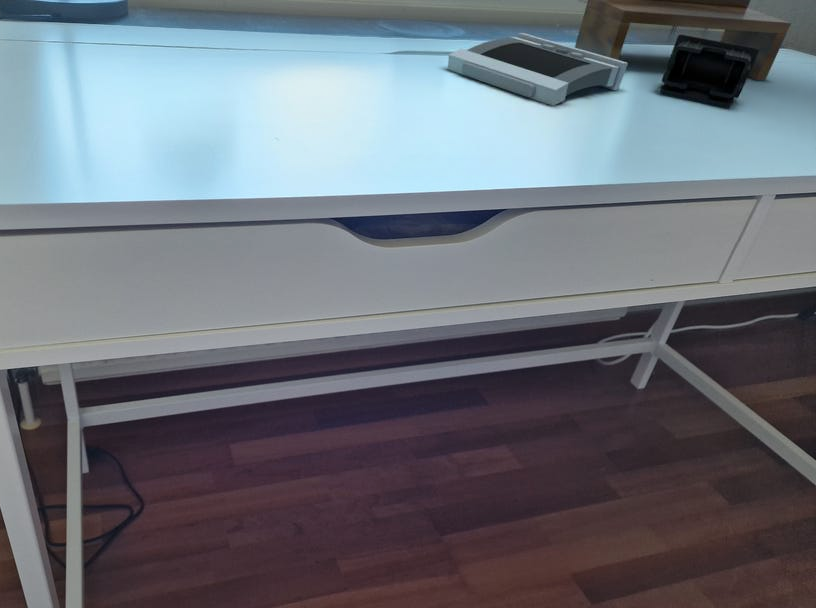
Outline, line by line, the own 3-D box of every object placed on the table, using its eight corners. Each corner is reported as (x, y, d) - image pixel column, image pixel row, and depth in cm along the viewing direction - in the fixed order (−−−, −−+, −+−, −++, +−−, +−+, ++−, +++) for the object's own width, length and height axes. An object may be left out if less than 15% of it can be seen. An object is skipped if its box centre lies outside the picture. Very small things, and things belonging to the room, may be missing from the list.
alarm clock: (628, 62, 88) (561, 65, 78) (614, 99, 91) (548, 106, 81) (522, 33, 98) (451, 32, 88) (513, 66, 100) (443, 69, 91)
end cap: (737, 98, 92) (761, 45, 88) (733, 110, 87) (758, 54, 83) (662, 82, 95) (681, 30, 91) (654, 93, 90) (674, 38, 86)
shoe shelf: (765, 80, 101) (798, 7, 95) (605, 70, 98) (629, -6, 92) (721, 59, 111) (749, -8, 105) (573, 50, 107) (593, -21, 101)
